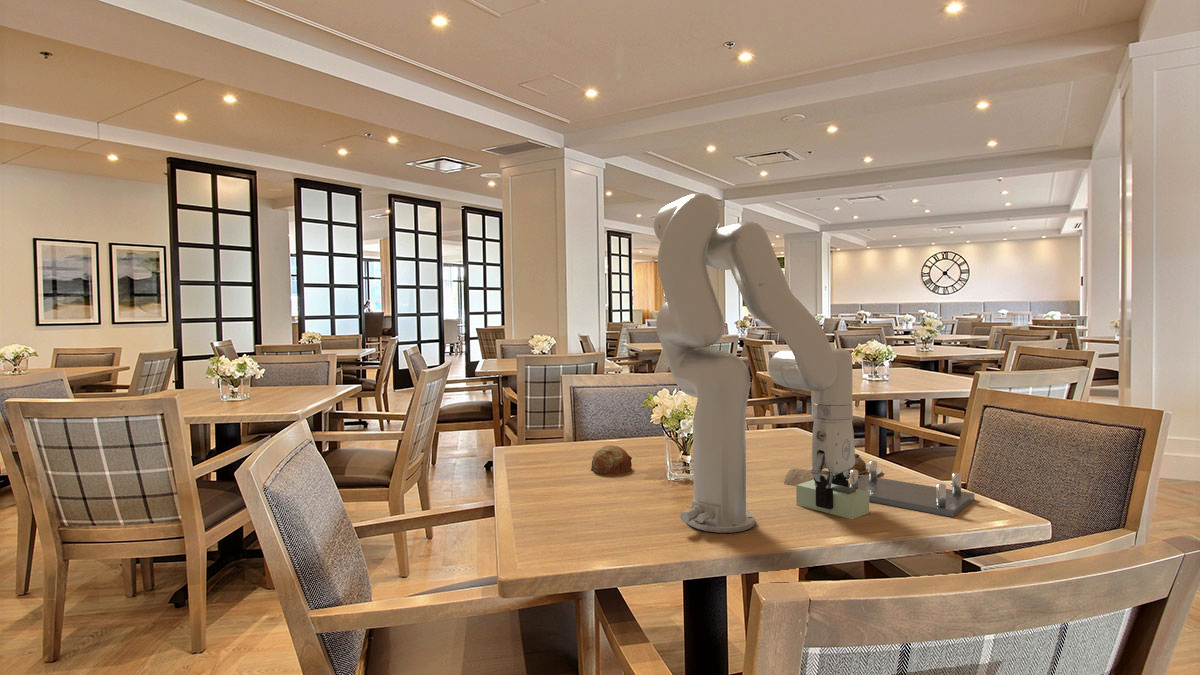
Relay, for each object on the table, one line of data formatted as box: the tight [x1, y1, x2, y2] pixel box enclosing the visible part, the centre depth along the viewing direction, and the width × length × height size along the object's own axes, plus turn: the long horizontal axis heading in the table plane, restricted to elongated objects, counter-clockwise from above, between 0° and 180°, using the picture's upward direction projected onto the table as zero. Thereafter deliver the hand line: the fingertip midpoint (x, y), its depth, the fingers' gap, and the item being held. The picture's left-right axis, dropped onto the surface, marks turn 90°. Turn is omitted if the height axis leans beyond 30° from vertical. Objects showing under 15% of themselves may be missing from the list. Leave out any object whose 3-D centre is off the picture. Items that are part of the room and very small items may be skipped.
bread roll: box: [590, 444, 633, 475], centre depth 157 cm, size 10×10×8 cm
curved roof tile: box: [783, 467, 828, 487], centre depth 144 cm, size 14×10×3 cm
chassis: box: [849, 460, 975, 518], centre depth 130 cm, size 15×22×5 cm
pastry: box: [848, 453, 883, 478], centre depth 151 cm, size 12×12×5 cm
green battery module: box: [795, 480, 870, 520], centre depth 123 cm, size 6×12×5 cm, turn 38°
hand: (832, 502), depth 123 cm, fingers closed on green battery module, 6 cm apart
